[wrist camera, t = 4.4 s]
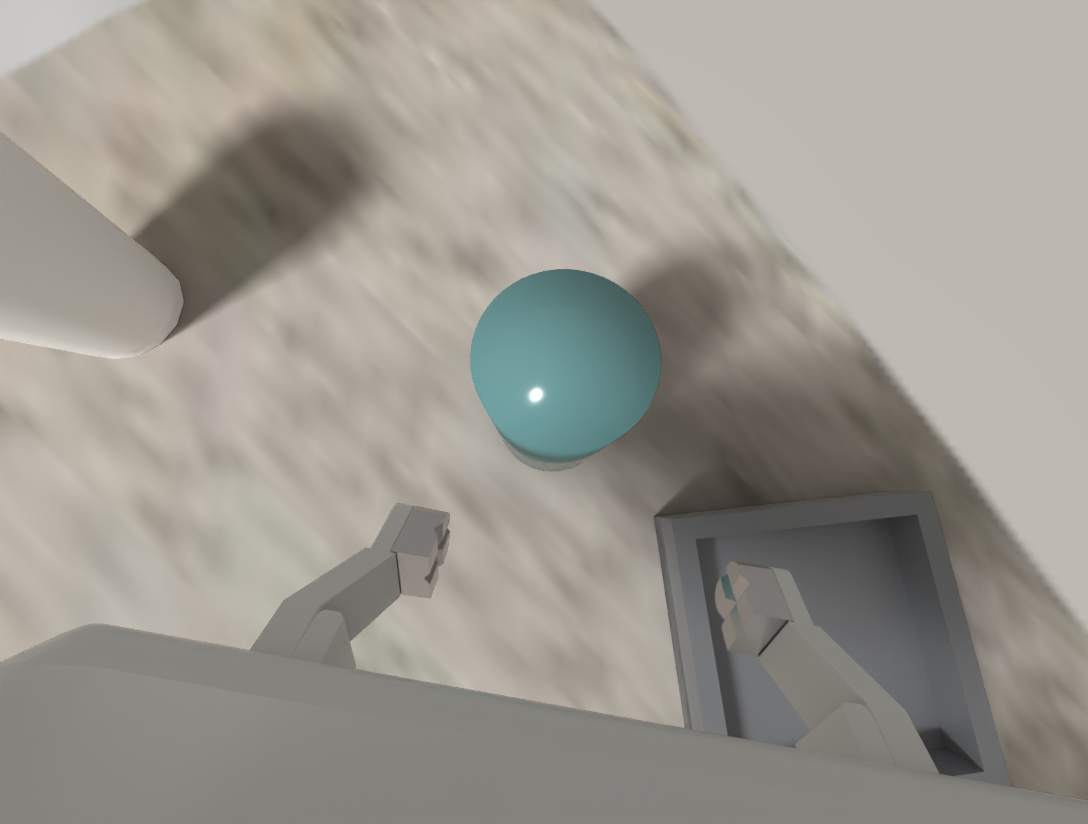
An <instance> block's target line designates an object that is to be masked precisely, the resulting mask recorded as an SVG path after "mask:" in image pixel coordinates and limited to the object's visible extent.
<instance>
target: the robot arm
mask: <svg viewBox="0 0 1088 824" xmlns="http://www.w3.org/2000/svg"><path fill="white" fill-rule="evenodd" d="M449 521H450V515H449V513H448V512H443V511H438V510H433V509H428V508H423V507H418V506H412V505H407V504H402V503H397V504H396V505H395V506H394V507H393V509H392V511H391V512H390V514H389V516H388V518H387V520H386V521H385V523H384V525H383V527H382V529H381V531H380V532H379V534H378V536H377V538H376V540H375V541H374V543H373V545H372V547H371V548H364V549H363V550H361V551H360V552H358V553H357V554H355V555H353V556H352V557H350V558H349V559H347V560H346V561H344V562H343V563H341V564H339V565H338V566H336V567H335V568H333V569H332V570H330V571H329V572H327V573H325V574H324V575H322V576H321V577H319V578H318V579H316V580H315V581H313V582H311V583H310V584H308V585H307V586H305V587H304V588H302V589H301V590H299V591H297V592H296V593H294V594H293V595H291V596H290V597H288V598H287V599H285V600H284V601H283V602H282V604H281V605H280V607H279V608H278V609H277V611H276V612H275V614H274V615H273V617H272V618H271V620H270V621H269V623H268V624H267V626H266V627H265V629H264V630H263V632H262V633H261V635H260V636H259V638H258V639H257V640H256V642H255V643H254V645H253V646H252V648H251V649H250V650H246V649H240V648H235V647H229V646H224V645H218V644H213V643H207V642H201V641H196V640H190V639H185V638H179V637H174V636H168V635H163V634H157V633H152V632H146V631H141V630H135V629H130V628H125V627H119V626H114V625H107V624H88V625H84V626H81V627H78V628H76V629H73V630H70V631H68V632H65V633H63V634H60V635H58V636H56V637H54V638H51V639H49V640H47V641H45V642H43V643H40V644H38V645H36V646H34V647H31V648H29V649H27V650H25V651H23V652H21V653H19V654H17V655H15V656H12V657H10V658H8V659H6V660H4V661H2V662H0V824H1088V800H1083V799H1077V798H1072V797H1066V796H1060V795H1055V794H1049V793H1044V792H1038V791H1032V790H1027V789H1021V788H1016V787H1010V786H1005V785H999V784H993V783H988V782H982V781H977V780H971V779H966V778H960V777H954V776H949V775H943V774H939V772H938V770H937V768H936V766H935V764H934V762H933V761H932V759H931V757H930V755H929V753H928V751H927V749H926V747H925V745H924V744H923V742H922V740H921V738H920V736H919V734H918V732H917V730H916V728H915V727H914V725H913V723H912V721H911V719H910V717H909V715H908V713H907V711H906V710H905V709H904V708H903V707H902V706H901V705H900V704H899V703H898V702H896V701H895V700H894V699H893V698H892V697H891V696H890V695H889V694H888V693H887V692H886V691H885V690H884V689H883V688H882V687H881V686H880V685H879V684H878V683H877V682H876V681H875V680H874V679H873V678H872V677H871V676H870V675H869V674H868V673H867V672H866V671H865V670H864V669H863V668H862V667H861V666H860V665H859V664H858V663H856V662H855V661H854V660H853V659H852V658H851V657H850V656H849V655H848V654H847V653H846V652H845V651H844V650H843V649H842V648H841V647H840V646H839V645H838V644H837V643H836V642H835V641H834V640H833V639H832V638H831V637H830V636H829V635H828V634H827V633H826V632H825V631H824V630H823V629H822V628H821V627H819V626H814V624H813V622H812V619H811V617H810V615H809V613H808V610H807V608H806V606H805V604H804V601H803V599H802V597H801V595H800V592H799V590H798V588H797V586H796V583H795V581H794V579H793V577H792V574H791V573H790V572H789V571H788V570H786V569H780V568H774V567H767V566H764V565H758V564H751V563H745V562H739V561H732V562H730V563H729V564H728V566H727V567H726V570H727V575H725V576H723V577H721V578H720V579H719V581H718V583H717V585H716V591H715V603H716V607H717V611H718V612H719V614H720V615H721V616H722V617H723V618H724V619H725V621H724V623H723V624H722V626H721V627H722V631H723V635H724V639H725V643H726V647H727V650H728V651H733V652H737V653H742V654H747V655H752V656H757V657H758V659H759V661H760V662H761V663H762V665H763V666H764V667H765V669H766V670H767V672H768V673H769V674H770V676H771V677H772V679H773V680H774V681H775V683H776V684H777V685H778V687H779V688H780V690H781V691H782V692H783V694H784V695H785V696H786V698H787V699H788V701H789V702H790V703H791V705H792V706H793V707H794V709H795V710H796V712H797V713H798V714H799V716H800V717H801V718H802V720H803V721H804V723H805V724H806V725H807V727H808V728H809V730H810V731H809V732H808V733H806V734H805V735H804V736H803V737H802V738H800V739H799V740H798V741H797V743H796V744H795V746H796V748H792V747H786V746H781V745H775V744H770V743H764V742H759V741H753V740H748V739H742V738H737V737H731V736H725V735H720V734H714V733H709V732H703V731H698V730H692V729H687V728H681V727H675V726H670V725H664V724H659V723H653V722H648V721H642V720H637V719H631V718H625V717H620V716H614V715H609V714H603V713H598V712H592V711H586V710H581V709H575V708H570V707H564V706H559V705H553V704H547V703H542V702H536V701H531V700H525V699H520V698H514V697H508V696H503V695H497V694H492V693H486V692H480V691H475V690H469V689H464V688H458V687H453V686H447V685H441V684H436V683H430V682H425V681H419V680H413V679H408V678H402V677H397V676H391V675H386V674H380V673H374V672H369V671H363V670H358V669H355V668H356V664H355V660H354V656H353V653H352V649H351V645H350V641H351V640H352V639H353V638H354V637H356V636H357V635H358V634H359V633H360V632H361V631H362V630H363V629H364V628H365V627H367V626H368V625H369V624H370V623H371V622H372V621H373V620H374V619H375V618H377V617H378V616H379V615H380V614H381V613H382V612H383V611H384V610H385V609H386V608H388V607H389V606H390V605H391V604H392V603H393V602H394V601H395V600H396V599H398V598H399V597H400V594H404V595H411V596H418V597H425V598H431V596H432V593H433V590H434V588H435V585H436V582H437V579H438V567H439V566H441V565H442V564H443V563H444V560H445V557H446V554H447V550H448V545H449V538H450V531H449V530H448V529H447V527H448V524H449Z"/></svg>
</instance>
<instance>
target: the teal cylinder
mask: <svg viewBox="0 0 1088 824" xmlns="http://www.w3.org/2000/svg"><path fill="white" fill-rule="evenodd" d="M470 359H471V372H472V379H473V382H474V386H475V389H476V391H477V394H478V396H479V398H480V400H481V402H482V404H483V406H484V408H485V409H486V411H487V413H488V415H489V416H490V418H491V420H492V422H493V423H494V425H495V427H496V429H497V430H498V432H499V434H500V436H501V437H502V439H503V441H504V443H505V444H506V446H507V447H508V449H509V450H510V452H511V453H512V454H513V455H514V456H515V457H516V458H517V459H518V460H520V461H521V462H523V463H524V464H526V465H528V466H530V467H532V468H535V469H538V470H543V471H560V470H565V469H569V468H572V467H574V466H576V465H578V464H579V463H581V462H582V461H584V460H586V459H587V458H589V457H590V456H592V455H593V454H595V453H596V452H598V451H599V450H601V449H602V448H604V447H605V446H607V445H608V444H610V443H612V442H613V441H615V440H616V439H618V438H619V437H621V436H622V435H624V434H625V433H626V432H628V431H629V430H630V429H631V428H632V427H633V426H635V424H636V423H637V422H638V421H639V420H640V419H641V418H642V417H643V415H644V414H645V412H646V411H647V409H648V408H649V406H650V404H651V402H652V400H653V398H654V396H655V393H656V390H657V387H658V384H659V379H660V373H661V352H660V346H659V341H658V337H657V334H656V332H655V329H654V326H653V324H652V322H651V320H650V319H649V317H648V315H647V313H646V312H645V311H644V309H643V308H642V306H641V305H640V304H639V303H638V302H637V301H636V300H635V299H634V297H633V296H631V295H630V294H629V293H628V292H627V291H625V290H624V289H623V288H621V287H620V286H618V285H617V284H615V283H614V282H612V281H610V280H608V279H606V278H604V277H601V276H598V275H596V274H593V273H589V272H585V271H580V270H570V269H558V270H549V271H543V272H539V273H536V274H532V275H530V276H527V277H525V278H522V279H520V280H519V281H517V282H515V283H513V284H512V285H510V286H509V287H507V288H506V289H505V290H503V291H502V292H501V293H500V294H499V295H498V296H497V297H496V298H495V299H494V300H493V301H492V302H491V303H490V305H489V306H488V307H487V309H486V310H485V312H484V313H483V315H482V317H481V318H480V320H479V323H478V325H477V327H476V330H475V333H474V336H473V340H472V346H471V353H470Z"/></svg>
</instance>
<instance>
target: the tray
mask: <svg viewBox="0 0 1088 824" xmlns="http://www.w3.org/2000/svg"><path fill="white" fill-rule="evenodd" d="M654 520H655V527H656V534H657V541H658V548H659V554H660V561H661V568H662V575H663V581H664V588H665V595H666V602H667V608H668V615H669V622H670V629H671V635H672V642H673V649H674V656H675V662H676V669H677V676H678V683H679V689H680V696H681V703H682V710H683V716H684V723H685V728H687V729H692V730H698V731H703V732H709V733H714V734H720V735H725V736H731V737H737V738H742V739H748V740H753V741H759V742H764V743H770V744H775V745H781V746H786V747H792V748H796V746H795V744H796V743H797V741H798V740H799V739H800V738H802V737H803V736H804V735H805V734H806V733H808V732H809V731H810V730H809V728H808V727H807V725H806V724H805V723H804V721H803V720H802V718H801V717H800V716H799V714H798V713H797V712H796V710H795V709H794V707H793V706H792V705H791V703H790V702H789V701H788V699H787V698H786V696H785V695H784V694H783V692H782V691H781V690H780V688H779V687H778V685H777V684H776V683H775V681H774V680H773V679H772V677H771V676H770V674H769V673H768V672H767V670H766V669H765V667H764V666H763V665H762V663H761V662H760V661H759V659H758V657H757V656H752V655H747V654H742V653H737V652H733V651H728V650H727V647H726V643H725V639H724V635H723V631H722V627H721V626H722V624H723V623H724V621H725V619H724V618H723V617H722V616H721V615H720V614H719V612H718V611H717V607H716V603H715V591H716V585H717V583H718V581H719V579H720V578H721V577H723V576H725V575H727V570H726V567H727V566H728V564H729V563H730V562H732V561H739V562H745V563H751V564H758V565H764V566H767V567H774V568H780V569H786V570H788V571H789V572H790V573H791V574H792V577H793V579H794V581H795V583H796V586H797V588H798V590H799V592H800V595H801V597H802V599H803V601H804V604H805V606H806V608H807V610H808V613H809V615H810V617H811V619H812V622H813V624H814V626H819V627H821V628H822V629H823V630H824V631H825V632H826V633H827V634H828V635H829V636H830V637H831V638H832V639H833V640H834V641H835V642H836V643H837V644H838V645H839V646H840V647H841V648H842V649H843V650H844V651H845V652H846V653H847V654H848V655H849V656H850V657H851V658H852V659H853V660H854V661H855V662H856V663H858V664H859V665H860V666H861V667H862V668H863V669H864V670H865V671H866V672H867V673H868V674H869V675H870V676H871V677H872V678H873V679H874V680H875V681H876V682H877V683H878V684H879V685H880V686H881V687H882V688H883V689H884V690H885V691H886V692H887V693H888V694H889V695H890V696H891V697H892V698H893V699H894V700H895V701H896V702H898V703H899V704H900V705H901V706H902V707H903V708H904V709H905V710H906V711H907V713H908V715H909V717H910V719H911V721H912V723H913V725H914V727H915V728H916V730H917V732H918V734H919V736H920V738H921V740H922V742H923V744H924V745H925V747H926V749H927V751H928V753H929V755H930V757H931V759H932V761H933V762H934V764H935V766H936V768H937V770H938V772H939V774H943V775H949V776H954V777H960V778H966V779H971V780H977V781H982V782H988V783H993V784H999V785H1005V786H1010V787H1011V784H1010V781H1009V777H1008V773H1007V769H1006V766H1005V762H1004V758H1003V755H1002V751H1001V747H1000V744H999V740H998V736H997V733H996V729H995V725H994V721H993V718H992V714H991V710H990V707H989V703H988V699H987V696H986V692H985V688H984V685H983V681H982V677H981V673H980V670H979V666H978V662H977V659H976V655H975V651H974V648H973V644H972V640H971V637H970V633H969V629H968V626H967V622H966V618H965V614H964V611H963V607H962V603H961V600H960V596H959V592H958V589H957V585H956V581H955V578H954V574H953V570H952V566H951V563H950V559H949V555H948V552H947V548H946V544H945V541H944V537H943V533H942V530H941V526H940V522H939V518H938V515H937V511H936V507H935V504H934V500H933V496H932V493H931V492H875V493H866V494H857V495H847V496H838V497H829V498H820V499H811V500H802V501H792V502H783V503H774V504H765V505H756V506H746V507H737V508H728V509H719V510H710V511H700V512H691V513H682V514H673V515H664V516H655V517H654Z"/></svg>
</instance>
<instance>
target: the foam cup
mask: <svg viewBox="0 0 1088 824" xmlns="http://www.w3.org/2000/svg"><path fill="white" fill-rule="evenodd" d="M183 304H184V300H183V296H182V291H181V286H180V281H179V280H178V279H177V278H176V277H175V276H174V275H173V274H172V273H171V271H170V270H169V269H168V268H167V267H166V266H165V265H163V264H162V263H160V261H159V260H158V259H157V258H156V257H154V256H153V255H152V254H151V253H149V252H148V251H147V250H146V249H145V248H143V247H142V246H141V245H140V244H138V243H137V242H136V241H135V240H134V239H132V238H131V237H130V236H129V235H127V234H126V233H125V232H124V231H123V230H121V229H120V228H119V227H118V226H116V225H115V224H114V223H113V222H111V221H110V220H109V219H108V218H107V217H105V216H104V215H103V214H102V213H100V212H99V211H98V210H97V209H96V208H94V207H93V206H92V205H91V204H89V203H88V202H87V201H86V200H85V199H83V198H82V197H81V196H80V195H78V194H77V193H76V192H75V191H74V190H72V189H71V188H70V187H69V186H67V185H66V184H65V183H64V182H63V181H61V180H60V179H59V178H58V177H56V176H55V175H54V174H53V173H52V172H50V171H49V170H48V169H47V168H45V167H44V166H43V165H42V164H40V163H39V162H38V161H37V160H36V159H34V158H33V157H32V156H31V155H29V154H28V153H27V152H26V151H25V150H23V149H22V148H21V147H20V146H18V145H17V144H16V143H15V142H14V141H12V140H11V139H10V138H9V137H7V136H6V135H5V134H4V133H3V132H1V131H0V339H6V340H11V341H16V342H22V343H27V344H32V345H38V346H43V347H49V348H54V349H59V350H65V351H70V352H75V353H81V354H86V355H91V356H97V357H107V358H110V359H116V358H126V357H137V356H139V355H141V354H143V353H145V352H146V351H148V350H150V349H152V348H154V347H156V346H158V345H160V344H161V343H162V342H163V341H164V340H165V338H166V337H167V336H168V335H169V334H170V333H171V331H172V330H173V329H174V328H175V327H176V326H177V324H178V320H179V317H180V314H181V310H182V307H183Z"/></svg>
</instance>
